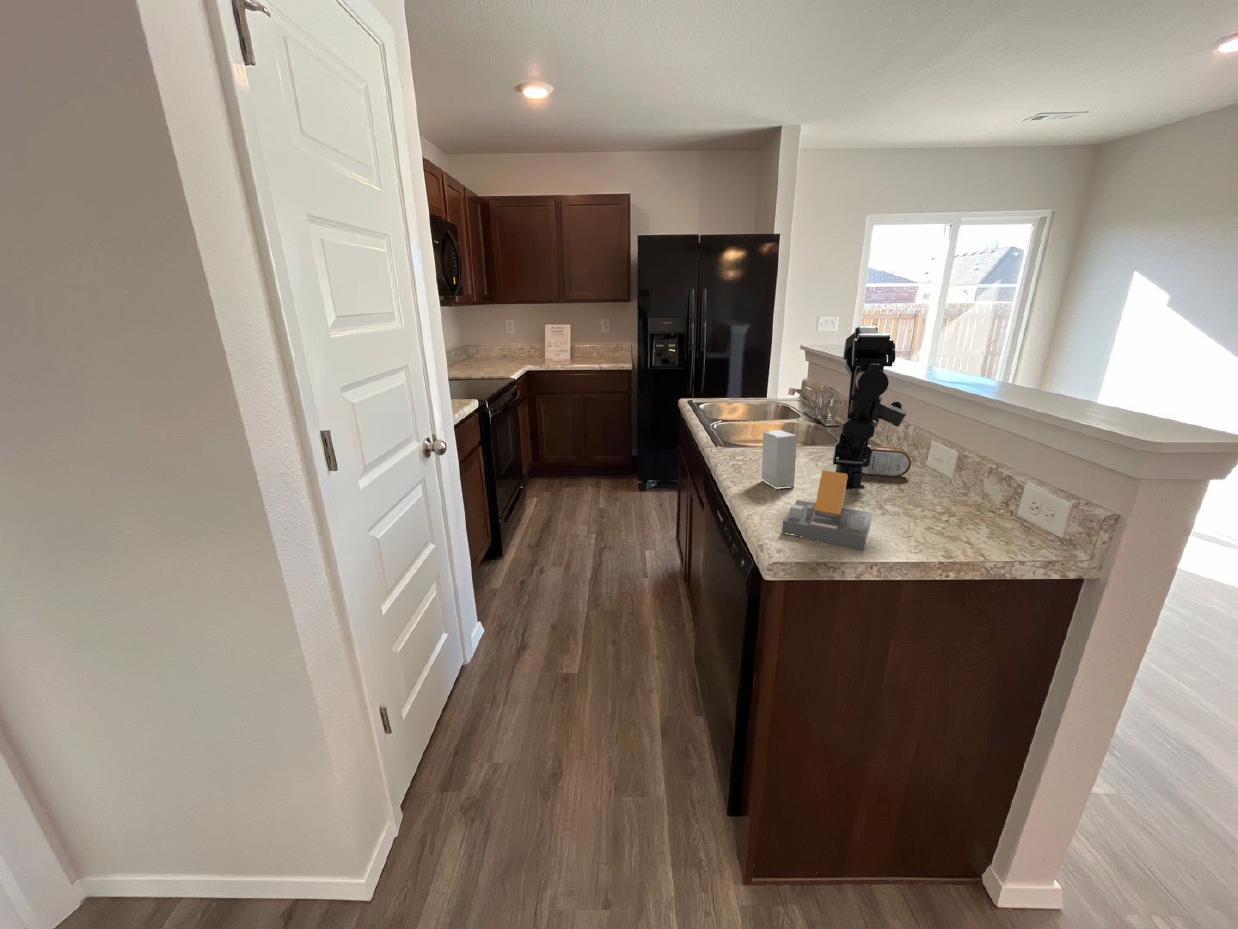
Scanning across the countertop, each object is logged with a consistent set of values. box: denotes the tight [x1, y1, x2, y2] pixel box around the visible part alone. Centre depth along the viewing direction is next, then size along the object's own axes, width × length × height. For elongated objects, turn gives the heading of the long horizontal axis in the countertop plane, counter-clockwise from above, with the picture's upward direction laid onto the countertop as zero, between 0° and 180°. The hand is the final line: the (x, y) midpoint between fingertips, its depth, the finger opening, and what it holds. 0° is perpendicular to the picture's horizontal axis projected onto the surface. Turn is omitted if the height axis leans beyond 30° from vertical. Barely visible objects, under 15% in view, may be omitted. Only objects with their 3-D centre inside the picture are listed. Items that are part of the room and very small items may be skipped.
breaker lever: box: [815, 469, 848, 519], centre depth 104 cm, size 2×5×10 cm
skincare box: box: [761, 429, 798, 488], centre depth 133 cm, size 8×6×15 cm
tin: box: [862, 445, 912, 478], centre depth 140 cm, size 15×3×8 cm, turn 71°
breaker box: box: [781, 499, 873, 551], centre depth 105 cm, size 14×16×5 cm
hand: (857, 456), depth 114 cm, fingers open, 8 cm apart
